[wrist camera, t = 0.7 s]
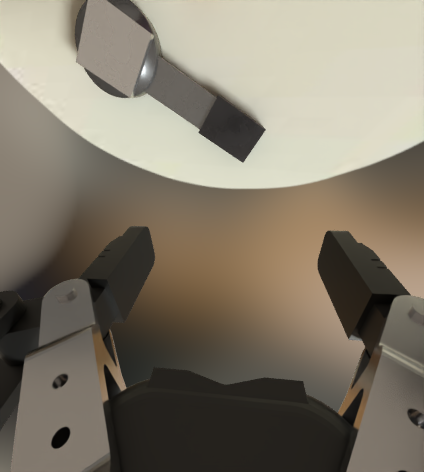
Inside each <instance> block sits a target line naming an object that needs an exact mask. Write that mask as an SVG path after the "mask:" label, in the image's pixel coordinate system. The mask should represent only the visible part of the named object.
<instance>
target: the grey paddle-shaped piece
mask: <svg viewBox="0 0 424 472" xmlns="http://www.w3.org/2000/svg"><path fill="white" fill-rule="evenodd" d="M75 39H76V46H77V51H78V54H77V59H76V62H77V63H78V64H80V65H81V66H83V67H84V69H85V70H86V72H87V74H88V75H89V77H90V78H91V79H92V80H93V82H94V83H95V84H96V85H97V86H98V87H99V88H101V89H102V90H103V91H105V92H107V93H108V94H110V95H113V96H116V97H121V98H136V97H141V96H143V95H145V94H147V93H148V94H149V95H150V96H152V97H153V98H155V99H156V100H158V101H159V102H161V103H162V104H164V105H165V106H167V107H168V108H170V109H171V110H173V111H174V112H176V113H177V114H178V115H180V116H181V117H183V118H184V119H186V120H187V121H189V122H190V123H192V124H193V125H195V126H196V127H198V128H199V129H200V131H199V133H200V134H201V135H203V136H204V137H206V138H207V139H209V140H210V141H211V142H213V143H214V144H216V145H217V146H219V147H220V148H222V149H223V150H225V151H226V152H228V153H229V154H231V155H232V156H234V157H235V158H237V159H238V160H240V161H241V162H244V161H245V159H246V158H247V156H248V155H249V153H250V152H251V150H252V149H253V147H254V146H255V145H256V143H257V142H258V140H259V139H260V137H261V136H262V134H263V133H264V131H265V130H266V129H265V128H264V127H262V126H261V125H260V124H258V123H257V122H256V121H254V120H253V119H252V118H250V117H249V116H247V115H246V114H245V113H243V112H242V111H241V110H239V109H238V108H237V107H235V106H234V105H232V104H231V103H230V102H228V101H227V100H226V99H224V98H223V97H222V96H220V95H218V96H217V97H216V96H214V95H213V94H211V93H210V92H209V91H207V90H206V89H205V88H203V87H202V86H200V85H199V84H198V83H196V82H195V81H194V80H192V79H191V78H189V77H188V76H187V75H185V74H184V73H183V72H181V71H180V70H178V69H177V68H176V67H174V66H173V65H172V64H170V63H169V62H167V61H166V60H165V59H163V58H162V53H161V46H160V42H159V39H158V36H157V33H156V31H155V29H154V27H153V25H152V23H151V22H150V21H149V19H148V18H147V17H146V16H145V14H144V13H143V12H142V11H141V10H140V9H138V8H137V7H136V6H135V5H134V4H133V3H132V2H131V1H130V0H86V1H85V3H84V4H83V5H82V7H81V9H80V11H79V13H78V16H77V20H76V26H75Z"/></svg>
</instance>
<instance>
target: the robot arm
mask: <svg viewBox="0 0 424 472" xmlns="http://www.w3.org/2000/svg"><path fill="white" fill-rule="evenodd" d="M154 261H155V254H154V249H153V244H152V240H151V235H150V231H149V229H148V227H144V226H131V227H129V228H128V229H127V231H126V232H125V233H124V234H123V236H120V237H118V238H116V239H115V240H113V241H111V242H110V243H109V244H108V245H107V246H106V248H105V249H104V251H102V252H101V253H100V254H99V256H98V257H97V258H96V259H95V260H94V261H93V263H92V264H91V265H90V266H89V267H88V268H87V269H86V270H85V272H84V273H83V274H82V275H81V276H80V277H79V278H78V279H72V280H68V281H65V282H62V283H60V284H58V285H57V286H55V287H53V288H52V289H51V290H50V291H48V293H47V294H46V295H45V296H44V297H42V298H36V299H31V300H26V301H23V300H22V299H21V298H20V296H19V295H18V294H17V293H16V292H14V291H3V292H0V430H1V429H2V427H3V426H4V424H5V423H6V421H7V419H8V418H9V417H10V415H11V413H12V412H13V411H14V409H15V407H16V406H17V404H18V403H19V407H18V408H19V409H18V415H17V423H16V431H15V440H14V447H13V455H12V463H11V471H10V472H424V299H422V298H419V297H416V296H411V295H410V293H409V292H408V291H407V290H406V289H405V288H404V287H403V285H402V284H401V283H400V282H399V281H398V279H397V278H396V277H395V276H394V275H393V274H392V272H391V271H390V270H389V269H387V267H386V265H385V264H384V263H383V262H382V261H380V258H379V257H378V256H377V255H376V254H375V253H374V251H373V250H371V249H370V248H368V247H366V246H365V245H363V244H362V243H357V242H356V240H355V239H354V238H353V236H352V235H351V234H350V233H349V232H348V231H327V232H326V234H325V237H324V240H323V244H322V247H321V251H320V254H319V258H318V271H319V274H320V276H321V279H322V281H323V283H324V285H325V288H326V290H327V292H328V294H329V296H330V299H331V301H332V303H333V306H334V308H335V310H336V312H337V315H338V317H339V319H340V321H341V323H342V326H343V328H344V330H345V332H346V335H347V337H348V339H349V340H360V341H363V343H364V345H365V349H364V350H363V352H362V354H361V357H360V360H359V362H358V365H357V368H356V371H355V373H354V376H353V378H352V381H351V384H350V387H349V389H348V392H347V394H346V397H345V399H344V401H343V403H342V405H341V407H340V409H339V411H338V413H337V412H336V411H334V410H333V409H332V408H330V407H329V406H327V405H326V404H324V403H323V402H321V401H319V400H317V399H315V398H313V397H311V396H309V395H307V394H306V392H305V388H304V384H303V381H294V380H284V379H274V378H261V379H255V380H250V381H245V382H240V383H235V384H230V385H224V384H220V383H218V382H215V381H213V380H210V379H208V378H206V377H203V376H200V375H198V374H195V373H193V372H191V371H187V370H176V369H165V368H154V369H153V372H152V375H151V378H150V379H148V380H145V381H142V382H139V383H136V384H135V385H132V386H130V387H128V388H126V386H125V383H124V380H123V378H122V375H121V371H120V367H119V363H118V359H117V354H116V350H115V346H114V342H113V337H112V333H111V331H110V327H111V325H112V324H113V322H120V323H125V321H126V319H127V317H128V315H129V313H130V311H131V309H132V307H133V305H134V303H135V301H136V299H137V297H138V295H139V293H140V291H141V289H142V287H143V285H144V283H145V281H146V279H147V277H148V275H149V273H150V271H151V269H152V267H153V265H154Z"/></svg>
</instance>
